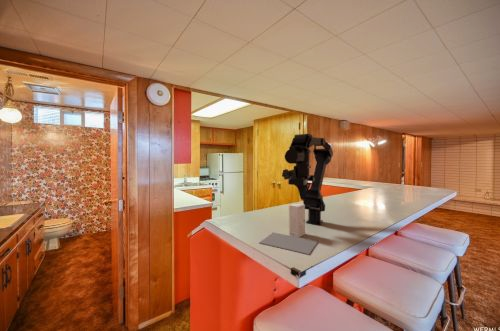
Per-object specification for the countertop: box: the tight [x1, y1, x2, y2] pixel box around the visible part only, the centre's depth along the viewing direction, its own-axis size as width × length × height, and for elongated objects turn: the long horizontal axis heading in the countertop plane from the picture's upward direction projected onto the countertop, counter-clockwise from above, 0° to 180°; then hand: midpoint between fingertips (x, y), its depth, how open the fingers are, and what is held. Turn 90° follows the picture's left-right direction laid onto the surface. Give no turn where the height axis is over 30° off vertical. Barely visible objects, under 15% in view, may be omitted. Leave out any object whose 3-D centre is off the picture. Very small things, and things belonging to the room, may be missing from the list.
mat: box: [258, 232, 319, 256], centre depth 75 cm, size 12×18×1 cm, turn 59°
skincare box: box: [288, 202, 306, 238], centre depth 83 cm, size 6×4×12 cm
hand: (302, 199), depth 89 cm, fingers closed
